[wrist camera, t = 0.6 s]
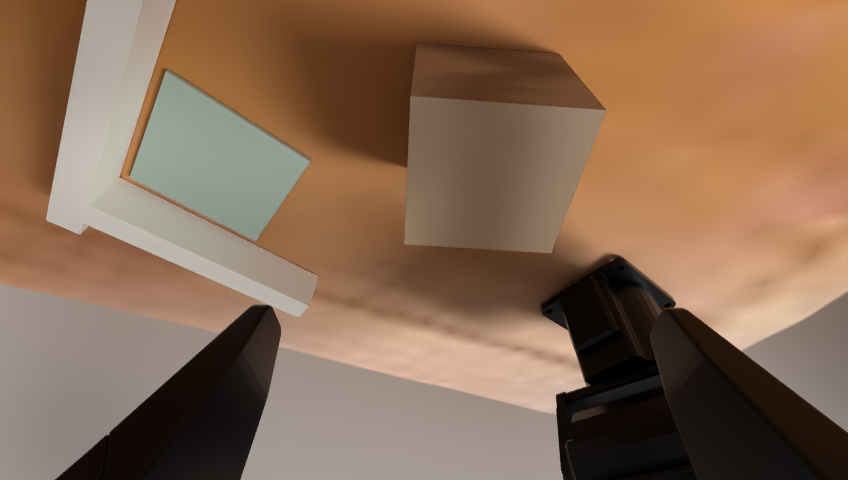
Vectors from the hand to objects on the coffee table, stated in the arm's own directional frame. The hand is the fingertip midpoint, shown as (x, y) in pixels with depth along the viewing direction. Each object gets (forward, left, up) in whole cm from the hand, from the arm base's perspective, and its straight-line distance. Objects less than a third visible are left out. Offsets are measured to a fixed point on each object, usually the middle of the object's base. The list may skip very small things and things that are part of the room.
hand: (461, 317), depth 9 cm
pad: (+7, +10, -12) cm, 17 cm away
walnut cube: (-1, -1, -12) cm, 12 cm away
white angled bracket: (+7, +9, -12) cm, 17 cm away
